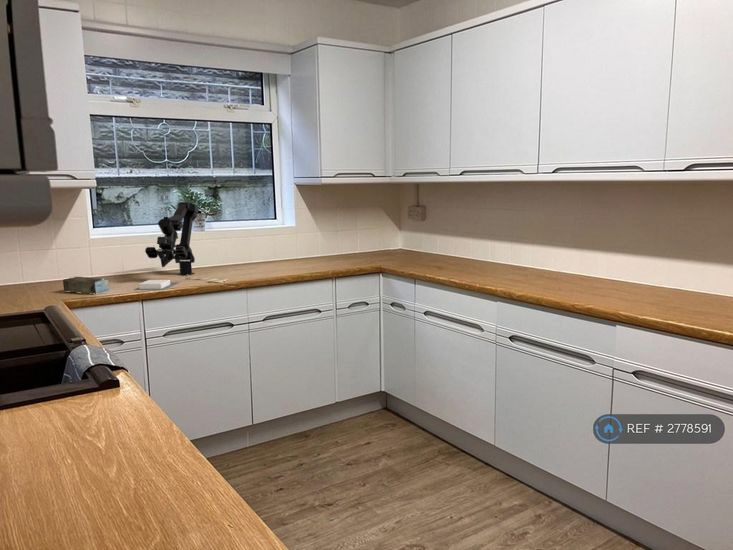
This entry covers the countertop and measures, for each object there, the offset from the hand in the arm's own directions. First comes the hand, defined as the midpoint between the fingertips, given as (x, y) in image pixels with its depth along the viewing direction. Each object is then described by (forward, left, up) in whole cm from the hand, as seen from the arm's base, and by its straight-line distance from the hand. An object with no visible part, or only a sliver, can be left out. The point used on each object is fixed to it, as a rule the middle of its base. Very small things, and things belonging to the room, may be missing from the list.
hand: (162, 266), depth 276 cm
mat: (+5, -6, -8) cm, 11 cm away
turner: (+8, +17, -8) cm, 21 cm away
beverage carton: (-10, -32, -9) cm, 34 cm away
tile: (+3, -4, -7) cm, 8 cm away
